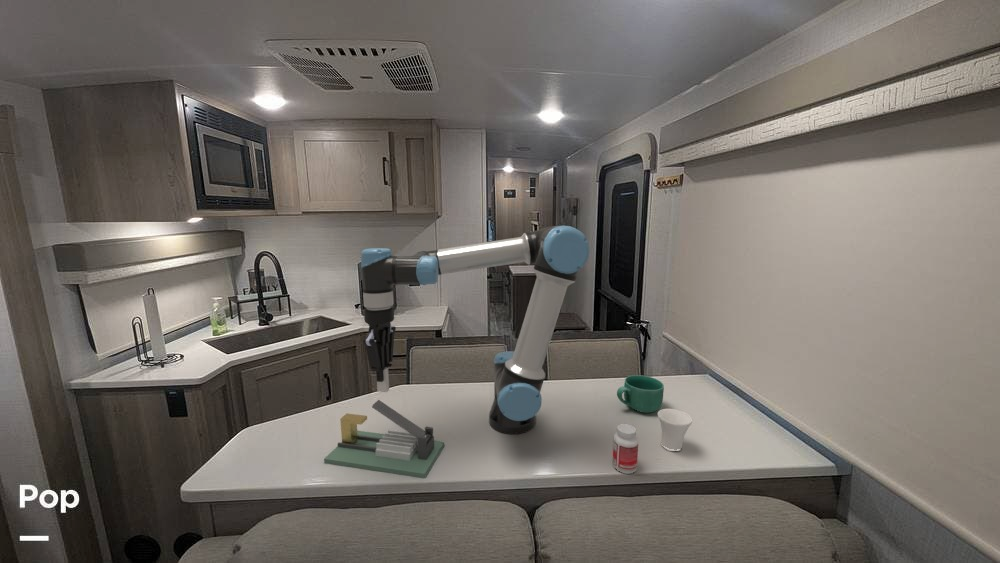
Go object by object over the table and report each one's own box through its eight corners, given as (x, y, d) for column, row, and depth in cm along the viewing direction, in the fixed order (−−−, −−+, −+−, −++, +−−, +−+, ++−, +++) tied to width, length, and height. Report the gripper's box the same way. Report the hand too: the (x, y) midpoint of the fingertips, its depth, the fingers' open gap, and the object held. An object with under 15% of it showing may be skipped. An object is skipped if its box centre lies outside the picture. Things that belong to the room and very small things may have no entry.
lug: (368, 440, 106) (367, 415, 105) (362, 446, 103) (361, 421, 102) (348, 438, 108) (346, 413, 106) (342, 444, 105) (340, 418, 103)
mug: (647, 397, 135) (649, 373, 134) (670, 414, 123) (672, 388, 122) (606, 402, 132) (607, 377, 131) (625, 420, 120) (627, 393, 118)
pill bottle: (641, 469, 96) (644, 430, 95) (626, 478, 93) (629, 438, 91) (622, 456, 101) (624, 419, 100) (607, 464, 98) (609, 426, 96)
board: (444, 445, 106) (443, 422, 105) (424, 478, 93) (424, 451, 92) (354, 433, 112) (353, 411, 111) (324, 462, 99) (322, 437, 98)
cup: (647, 442, 108) (650, 411, 106) (671, 435, 111) (673, 405, 110) (672, 460, 100) (675, 426, 98) (696, 452, 103) (699, 419, 102)
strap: (429, 438, 102) (432, 433, 102) (424, 445, 99) (427, 440, 98) (377, 403, 104) (379, 398, 103) (370, 408, 101) (373, 403, 100)
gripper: (378, 301, 104) (383, 379, 108) (351, 312, 91) (357, 400, 95) (403, 302, 102) (406, 381, 106) (378, 313, 90) (383, 403, 94)
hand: (383, 390), depth 101 cm, fingers closed
